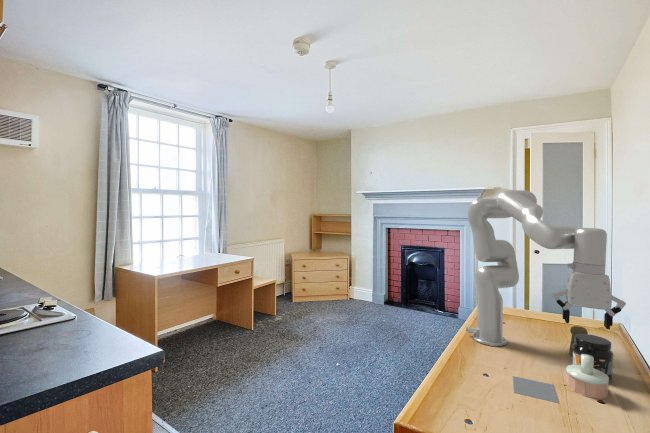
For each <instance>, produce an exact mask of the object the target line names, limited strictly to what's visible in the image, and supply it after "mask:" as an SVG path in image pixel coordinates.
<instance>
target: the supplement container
mask: <svg viewBox="0 0 650 433" xmlns="http://www.w3.org/2000/svg"><path fill="white" fill-rule="evenodd" d="M612 344H613V343H612V342H611V341H610V340H609V339H607V338H604V337H601V336H600V335H599V336H598V335H594V334H589V333H588V334H577V335H575V343H574V344H573V357H572V364H571V365H581V354H587V355H590V356H593V357H594V367H593V368H594V369H597V370H599V371H601V372H603V373H605V374H606V375H607V376H608V377H609V381H611V380H612V379H613V377H614V375H613V373H614V372H613V368H614V366H613V364H614V362H613V360H614V352H613V351H612Z"/></svg>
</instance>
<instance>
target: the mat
mask: <svg viewBox="0 0 650 433" xmlns="http://www.w3.org/2000/svg"><path fill="white" fill-rule="evenodd" d="M512 381H513V382H512V384H513V393H514V394H517V395H523V396H525V397H529V398H530V397H531V398H534V399H539V400H544V401H547V402H552V403H555V404H560V401H559V398H558V395H557V392H556V388H555V385H554V384H552V383H548V382H543V381H538V380H533V379H529V378H524V377H519V376H515V375H512Z"/></svg>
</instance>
